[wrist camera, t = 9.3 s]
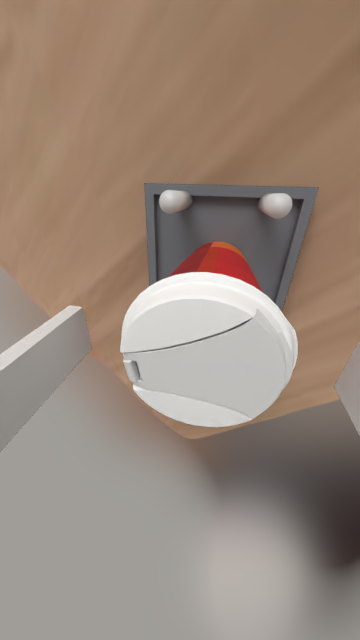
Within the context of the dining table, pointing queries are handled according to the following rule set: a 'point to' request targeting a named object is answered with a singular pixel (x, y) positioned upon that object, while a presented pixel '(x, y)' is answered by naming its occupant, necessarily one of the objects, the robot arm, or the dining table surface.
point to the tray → (229, 227)
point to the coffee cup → (208, 341)
